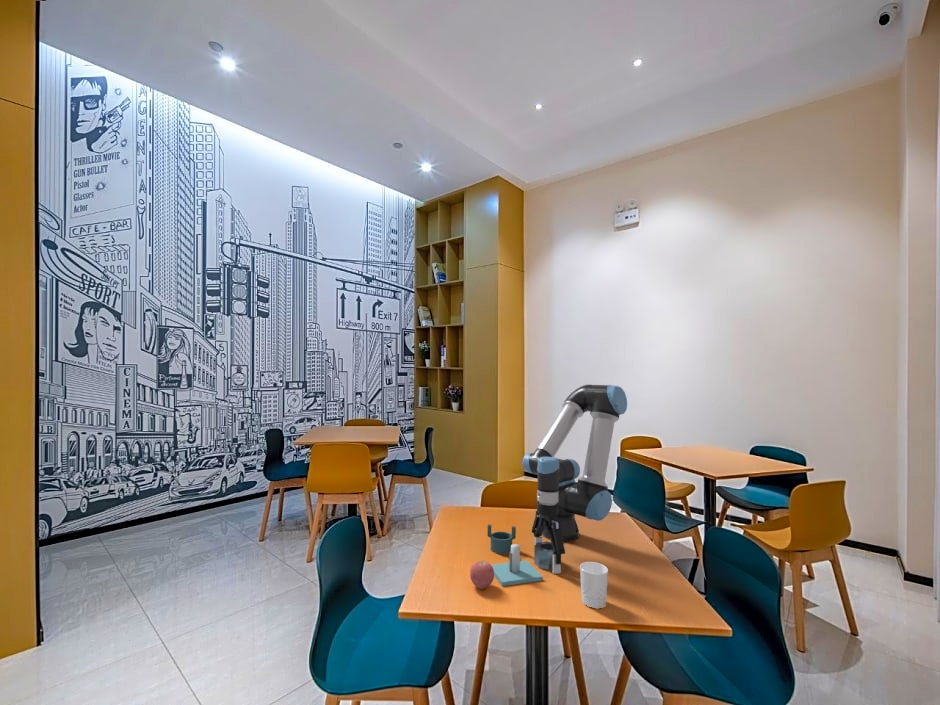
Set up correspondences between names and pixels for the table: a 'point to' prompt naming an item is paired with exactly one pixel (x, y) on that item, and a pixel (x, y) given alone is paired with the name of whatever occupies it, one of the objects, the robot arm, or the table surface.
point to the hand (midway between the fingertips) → (547, 564)
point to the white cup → (594, 584)
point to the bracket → (501, 540)
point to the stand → (515, 570)
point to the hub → (544, 555)
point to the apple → (482, 574)
